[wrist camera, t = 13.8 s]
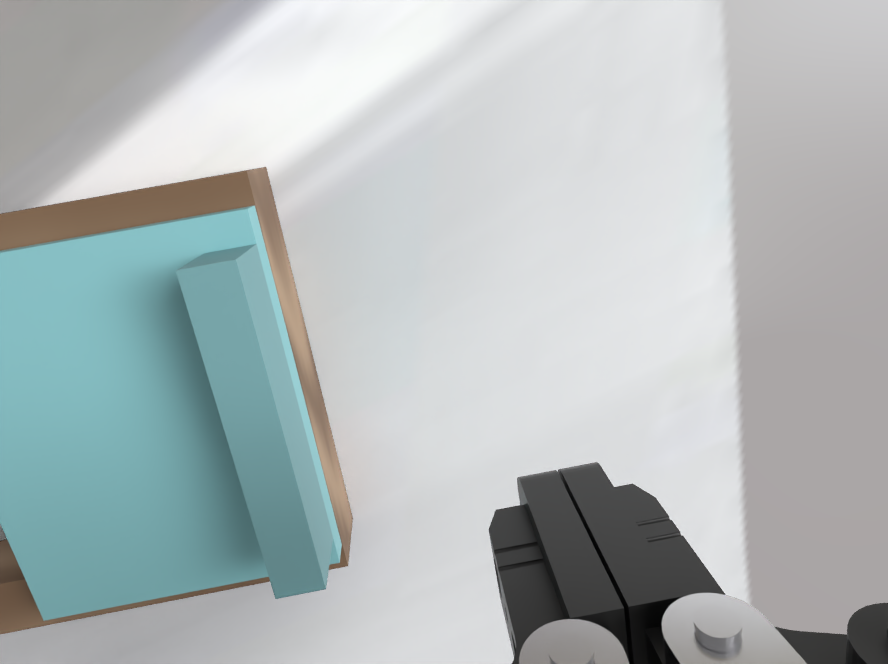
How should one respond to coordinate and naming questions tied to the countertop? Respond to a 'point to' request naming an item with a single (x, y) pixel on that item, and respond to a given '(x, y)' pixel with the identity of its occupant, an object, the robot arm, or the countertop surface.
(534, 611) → the robot arm
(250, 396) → the sliding cover
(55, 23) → the countertop surface
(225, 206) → the wooden frame
